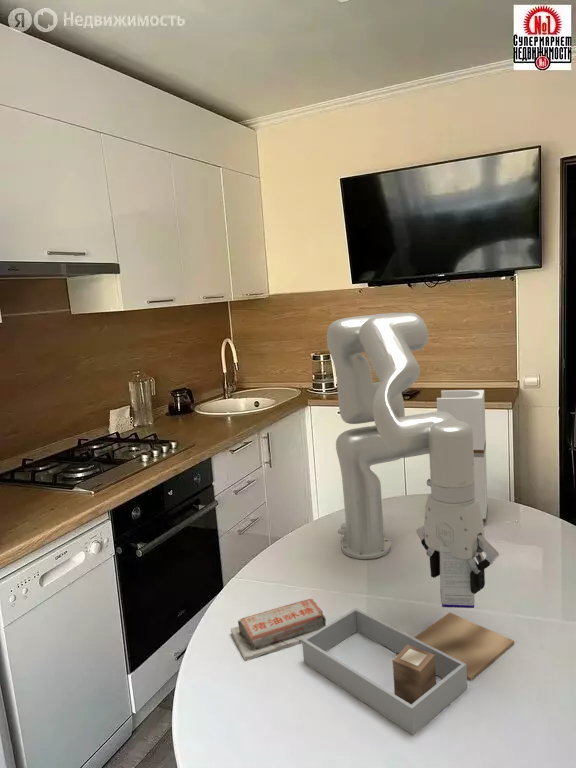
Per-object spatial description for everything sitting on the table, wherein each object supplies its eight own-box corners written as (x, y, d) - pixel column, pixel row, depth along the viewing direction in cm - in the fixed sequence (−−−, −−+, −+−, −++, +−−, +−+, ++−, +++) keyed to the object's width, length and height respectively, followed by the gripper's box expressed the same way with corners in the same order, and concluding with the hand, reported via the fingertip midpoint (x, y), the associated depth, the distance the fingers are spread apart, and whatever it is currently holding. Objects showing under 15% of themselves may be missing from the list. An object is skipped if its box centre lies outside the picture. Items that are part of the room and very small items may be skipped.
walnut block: (395, 698, 98) (392, 659, 97) (409, 681, 102) (407, 644, 101) (422, 710, 95) (420, 670, 94) (436, 692, 99) (434, 654, 97)
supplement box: (476, 608, 105) (473, 548, 103) (441, 607, 106) (438, 548, 104) (472, 591, 111) (470, 534, 109) (440, 591, 112) (437, 534, 110)
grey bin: (303, 662, 109) (301, 640, 108) (357, 628, 118) (355, 607, 117) (413, 734, 90) (411, 708, 89) (467, 688, 99) (466, 664, 98)
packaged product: (309, 590, 126) (329, 613, 116) (311, 611, 126) (331, 636, 117) (228, 614, 119) (242, 640, 110) (230, 635, 120) (244, 663, 111)
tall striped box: (487, 510, 168) (484, 389, 162) (485, 525, 159) (481, 398, 152) (446, 508, 173) (441, 390, 166) (442, 523, 163) (436, 398, 157)
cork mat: (405, 646, 111) (405, 643, 111) (449, 615, 120) (449, 612, 120) (470, 681, 100) (470, 677, 100) (514, 643, 109) (514, 640, 109)
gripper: (400, 486, 109) (405, 574, 112) (485, 508, 96) (488, 608, 99) (425, 475, 114) (430, 560, 117) (509, 495, 100) (512, 590, 103)
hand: (456, 581), depth 108 cm, fingers closed on supplement box, 7 cm apart
